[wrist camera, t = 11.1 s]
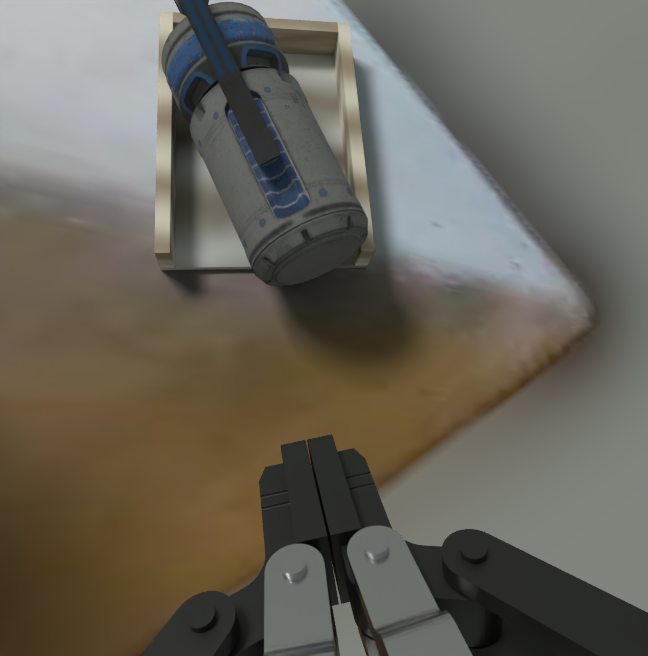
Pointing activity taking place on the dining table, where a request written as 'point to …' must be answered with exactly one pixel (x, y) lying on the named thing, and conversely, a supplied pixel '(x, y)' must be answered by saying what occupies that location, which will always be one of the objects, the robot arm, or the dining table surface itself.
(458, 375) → the dining table surface
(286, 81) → the beverage bottle
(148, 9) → the dining table surface
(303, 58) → the cream flat rectangular tray
